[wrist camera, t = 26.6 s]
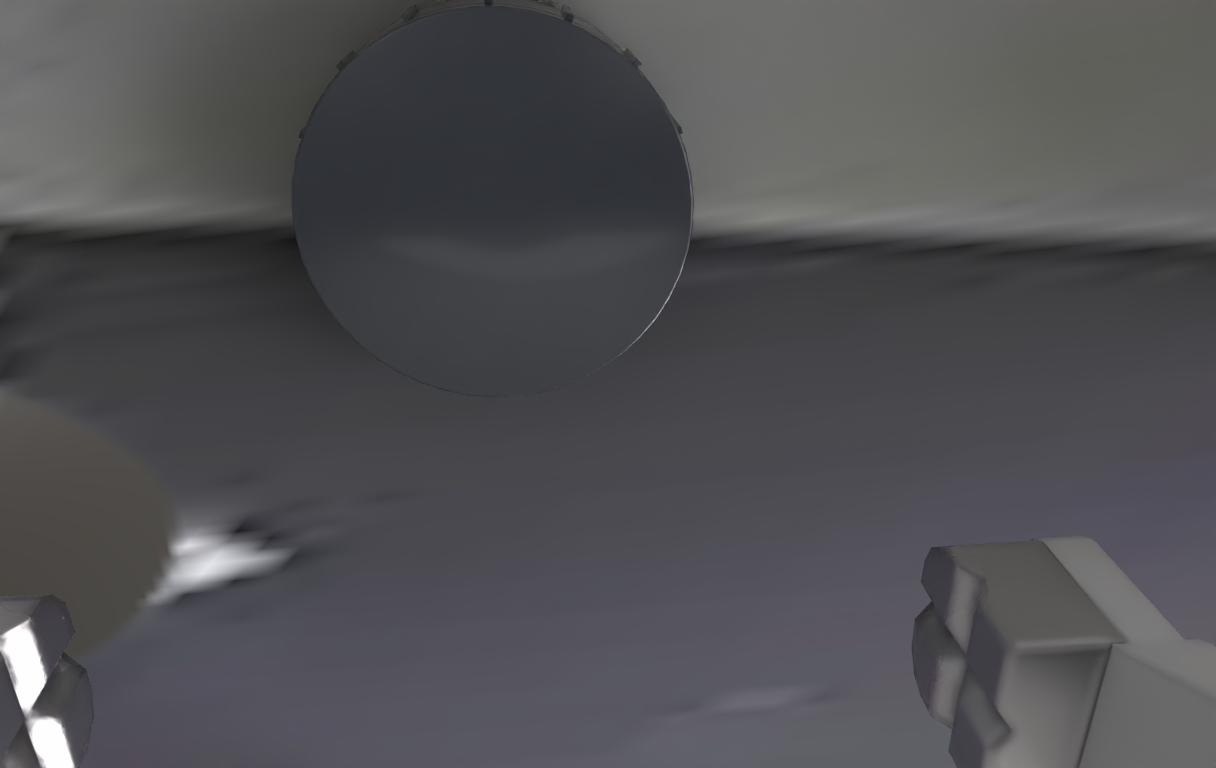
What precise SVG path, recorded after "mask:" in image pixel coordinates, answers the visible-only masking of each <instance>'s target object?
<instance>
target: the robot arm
mask: <svg viewBox="0 0 1216 768" xmlns="http://www.w3.org/2000/svg"><path fill="white" fill-rule="evenodd" d="M921 583H922V585H923V586H924V588H925V590H926V592H927V593H928V595H929V597H930V598H931V600H932V602H931V603H930V604H929V605H928V606H927V607H926V608H925V609H924V610H923V611H922V612H921V613H920V614H919V615H918V616H917V618H916V619H915V623H914V632H913V640H912V656H913V666H914V675H915V678H916V682H917V685H918V688H919V692H920V695H921V697H922V699H923V701H924V703H925V705H926V707H927V709H928V711H929V713H930V715H931V716H932V717H934V718H935V719H937V720H938V721H940V722H941V723H943V724H944V725H946V726H947V727H949V728H950V729H952V735H951V740H950V746H949V752H950V754H951V756H952V758H953V760H954V762H955V764H956V766H957V768H1216V646H1215V645H1213V644H1211V643H1208V642H1206V641H1204V640H1202V639H1190V640H1184V638H1183V637H1182V636H1181V635H1180V634H1179V633H1178V632H1177V631H1176V630H1175V629H1174V627H1173V626H1172V625H1171V624H1170V623H1169V622H1168V621H1167V620H1166V619H1165V618H1164V617H1163V615H1162V614H1161V613H1160V612H1159V611H1158V610H1157V609H1156V608H1155V607H1154V606H1153V604H1152V603H1151V602H1150V601H1149V600H1148V599H1147V598H1146V597H1145V596H1144V595H1143V594H1142V592H1141V591H1140V590H1139V589H1138V588H1137V587H1136V586H1135V585H1134V584H1133V583H1132V581H1131V580H1130V579H1129V578H1128V577H1127V576H1126V575H1125V574H1124V573H1123V572H1122V570H1121V569H1120V568H1119V567H1118V566H1117V565H1116V564H1115V563H1114V562H1113V561H1112V560H1111V558H1110V557H1109V556H1108V555H1107V554H1106V553H1105V552H1104V551H1103V550H1102V549H1101V547H1100V546H1099V545H1098V544H1097V543H1096V542H1095V541H1094V540H1092V539H1089V538H1087V537H1085V536H1083V535H1075V536H1063V537H1051V538H1040V539H1032V540H1031V541H1020V542H1004V543H989V544H973V545H958V546H942V547H931V549H930V551H929V553H928V555H927V557H926V559H925V562H924V568H923V573H922V579H921ZM74 633H75V630H74V627H73V624H72V621H71V618H70V615H69V612H68V609H67V606H66V603H65V602H64V601H62V600H60V599H58V598H57V597H55V596H54V595H37V596H8V597H0V768H79V767H80V765H81V762H82V760H83V758H84V756H85V754H86V751H87V749H88V745H89V740H90V734H91V729H92V723H93V718H94V712H93V697H92V689H91V685H90V682H89V678H88V674H87V671H86V669H85V668H83V667H82V666H81V665H80V664H78V663H77V662H76V661H74V660H73V659H72V658H71V657H69V656H68V655H67V654H66V653H64V650H65V648H66V647H67V645H68V643H69V641H70V640H71V638H72V636H73V634H74Z"/></svg>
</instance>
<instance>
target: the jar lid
mask: <svg viewBox="0 0 1216 768" xmlns="http://www.w3.org/2000/svg"><path fill="white" fill-rule="evenodd" d="M402 17H403V18H401V19H400V20H398V21H396V22H395V23H393V24H392V25H390V26H389V27H387V28H385V29H384V30H382V31H381V32H380V33H379V34H378V35H377V36H375V37H374V38H373V39H372V40H371V41H370V42H368V43H367V44H366V45H365V46H364V47H363V48H362V49H361V50H360V51H359V52H358V53H356V52H355V51H354V50H352V51H351V52H350V53H349V54H348V55H347V56H346V57H345V58H344V59H343V60H341V61H340V63H339V64H338V65H337V66H336V67H337V68H338V69H339V70H341V71H340V72H339V73H338V74H337V75H336V76H335V78H334V79H333V80H332V81H331V82H330V83H329V85H328V86H327V88H326V89H325V91H324V93H323V94H322V96H321V97H320V99H319V100H318V102H317V103H316V105H315V107H314V109H313V111H312V113H311V115H310V117H309V120H308V122H307V124H306V126H305V127H304V128H303V129H302V130H301V132H300V135H299V138H300V139H301V140H300V144H299V147H298V151H297V154H296V158H295V165H294V172H293V179H292V215H293V222H294V230H295V236H296V240H297V243H298V247H299V251H300V255H301V258H302V261H303V263H304V266H305V268H306V271H307V273H308V276H309V278H310V280H311V283H312V285H313V286H314V288H315V290H316V291H317V293H318V295H319V297H320V298H321V300H322V302H323V304H324V305H325V307H326V308H327V309H328V311H329V312H330V313H331V314H332V316H333V317H334V318H335V320H336V321H337V322H338V324H339V325H340V326H341V327H342V328H343V329H344V330H345V331H346V332H347V333H348V334H349V335H350V336H351V337H352V338H353V339H354V340H355V341H356V342H357V343H358V344H359V345H360V346H361V347H363V348H364V349H365V350H366V351H368V352H369V353H370V354H371V355H373V356H374V357H375V358H376V359H378V360H379V361H381V362H383V363H384V364H386V365H387V366H389V367H391V368H392V369H394V370H396V371H397V372H399V373H401V374H403V375H405V376H408V377H410V378H412V379H414V380H416V381H418V382H420V383H423V384H427V385H430V386H433V387H436V388H439V389H442V390H445V391H450V392H455V393H460V394H465V395H473V396H485V397H508V396H521V395H527V394H534V393H540V392H544V391H547V390H551V389H554V388H558V387H562V386H565V385H567V384H569V383H572V382H574V381H577V380H579V379H582V378H584V377H586V376H588V375H590V374H591V373H593V372H595V371H597V370H599V369H600V368H602V367H604V366H606V365H607V364H608V363H610V362H611V361H613V360H614V359H615V358H617V357H618V356H619V355H621V354H622V353H623V352H625V351H626V350H627V349H628V348H629V347H630V346H631V345H632V344H633V343H634V342H636V341H637V340H638V339H639V338H640V337H641V336H642V335H643V334H644V333H645V331H646V330H647V329H648V328H649V327H650V325H651V324H652V323H653V322H654V320H655V319H656V318H657V317H658V315H659V314H660V312H661V311H662V309H663V307H664V306H665V304H666V303H667V301H668V300H669V298H670V296H671V294H672V292H673V290H674V288H675V286H676V284H677V282H678V279H679V277H680V275H681V272H682V269H683V266H684V263H685V260H686V257H687V253H688V250H689V244H690V239H691V233H692V227H693V208H694V198H693V187H692V176H691V171H690V167H689V163H688V158H687V154H686V150H685V147H684V145H683V142H682V139H681V136H680V134H681V133H683V132H682V129H681V127H680V126H679V124H678V123H677V122H676V120H675V119H674V118H673V117H672V115H671V114H670V113H669V111H668V109H667V107H666V105H665V103H664V102H663V100H662V99H661V98H660V96H659V95H658V93H657V92H656V91H655V89H654V88H653V87H652V85H651V84H650V82H649V81H648V80H647V78H646V77H645V76H644V75H643V74H642V72H641V71H640V70H639V69H638V68H639V67H640V66H641V63H640V62H639V61H638V59H637V58H636V57H635V56H634V55H633V54H632V52H631V51H630V50H629V49H628V48H627V49H626V50H625V51H624V52H623V51H622V50H621V49H620V48H619V47H618V46H617V45H616V44H615V43H614V42H612V41H611V40H610V39H609V38H607V37H606V36H605V35H604V34H602V33H601V32H600V31H599V30H597V29H596V28H594V27H592V26H591V25H589V24H588V23H586V22H584V21H583V20H581V19H579V18H578V17H576V16H574V14H573V13H572V11H571V9H570V8H569V7H567V6H565V5H563V6H562V9H561V10H560V9H558V8H555V7H553V6H550V5H546V4H543V3H539V2H536V1H532V0H448V1H444V2H441V3H437V4H434V5H430V6H427V7H425V8H422V9H420V10H418V9H417V7H416V5H414V6H412V7H410V8H409V9H408V10H407V11H406V12H405V13H404V14H403V16H402Z"/></svg>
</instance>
